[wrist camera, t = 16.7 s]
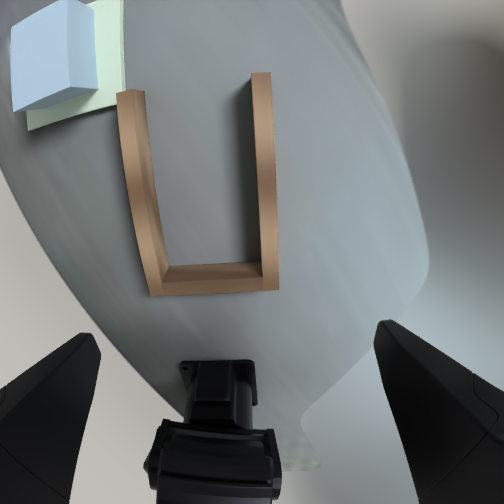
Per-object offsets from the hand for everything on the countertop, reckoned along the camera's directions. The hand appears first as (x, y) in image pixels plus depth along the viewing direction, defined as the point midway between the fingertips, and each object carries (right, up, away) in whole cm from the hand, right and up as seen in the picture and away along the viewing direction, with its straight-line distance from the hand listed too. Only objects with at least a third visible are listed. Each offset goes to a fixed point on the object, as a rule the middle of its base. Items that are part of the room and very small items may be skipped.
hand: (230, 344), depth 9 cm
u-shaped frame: (-2, +7, +10) cm, 12 cm away
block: (-11, +15, +5) cm, 20 cm away
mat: (-11, +15, +6) cm, 20 cm away
